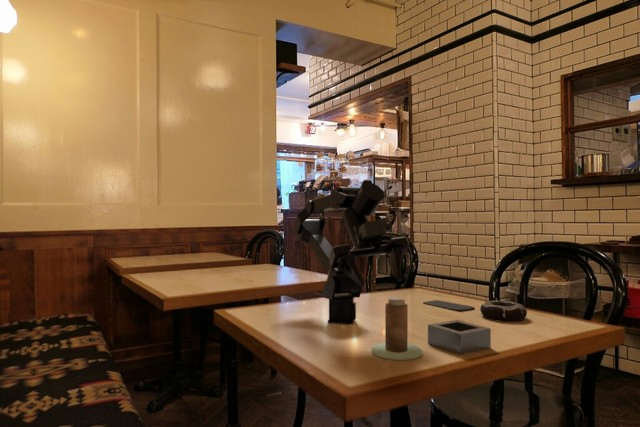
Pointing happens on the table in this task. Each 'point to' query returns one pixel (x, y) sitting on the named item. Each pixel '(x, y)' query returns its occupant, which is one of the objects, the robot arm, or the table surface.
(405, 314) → the pepper mill
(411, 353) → the coaster
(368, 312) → the table surface
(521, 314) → the donut
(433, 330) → the box
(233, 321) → the table surface
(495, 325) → the table surface
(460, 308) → the smartphone
